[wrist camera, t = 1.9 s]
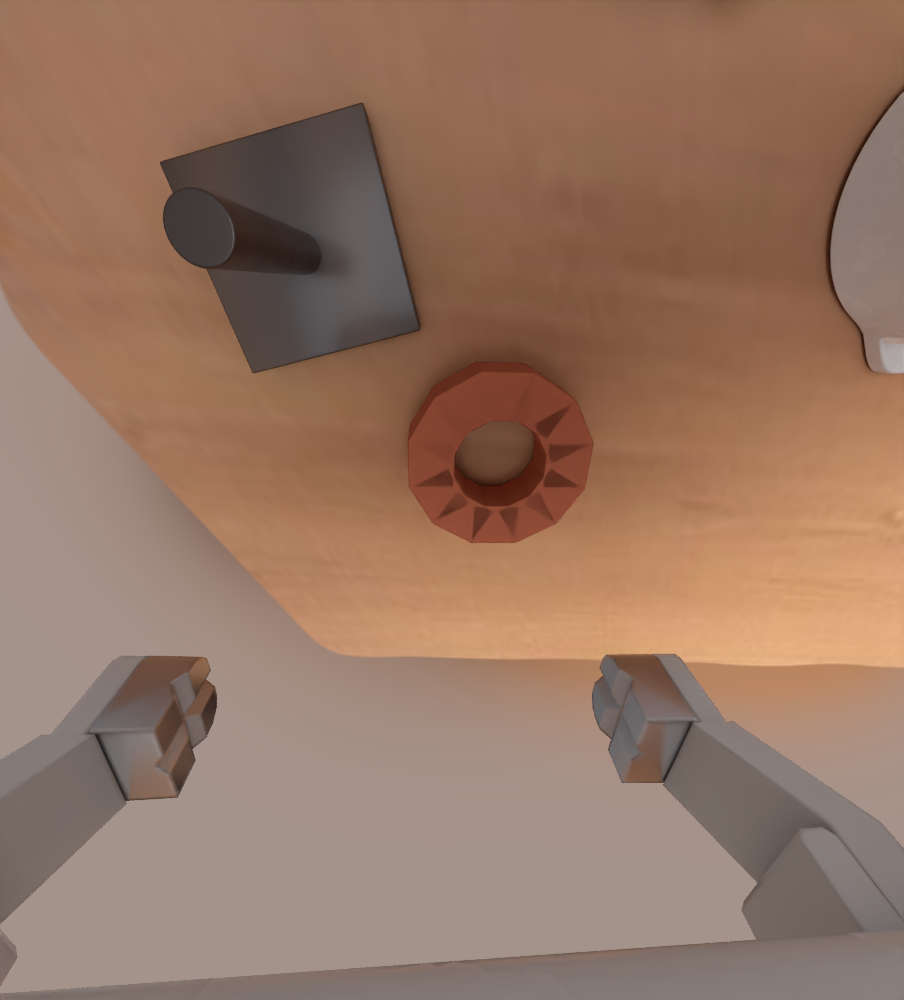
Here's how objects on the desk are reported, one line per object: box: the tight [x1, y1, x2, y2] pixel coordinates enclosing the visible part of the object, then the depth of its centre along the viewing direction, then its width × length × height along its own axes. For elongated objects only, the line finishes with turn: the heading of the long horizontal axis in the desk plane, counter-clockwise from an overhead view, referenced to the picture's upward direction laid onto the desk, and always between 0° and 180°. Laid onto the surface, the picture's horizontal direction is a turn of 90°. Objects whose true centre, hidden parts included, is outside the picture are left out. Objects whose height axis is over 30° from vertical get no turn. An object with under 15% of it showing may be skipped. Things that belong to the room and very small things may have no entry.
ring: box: [408, 362, 593, 543], centre depth 27 cm, size 11×11×3 cm
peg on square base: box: [160, 103, 420, 373], centre depth 18 cm, size 10×10×12 cm
